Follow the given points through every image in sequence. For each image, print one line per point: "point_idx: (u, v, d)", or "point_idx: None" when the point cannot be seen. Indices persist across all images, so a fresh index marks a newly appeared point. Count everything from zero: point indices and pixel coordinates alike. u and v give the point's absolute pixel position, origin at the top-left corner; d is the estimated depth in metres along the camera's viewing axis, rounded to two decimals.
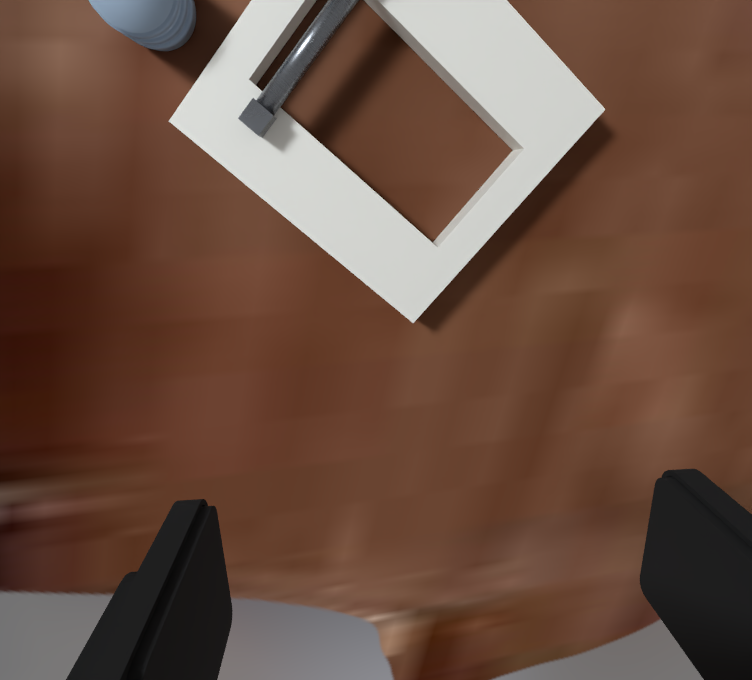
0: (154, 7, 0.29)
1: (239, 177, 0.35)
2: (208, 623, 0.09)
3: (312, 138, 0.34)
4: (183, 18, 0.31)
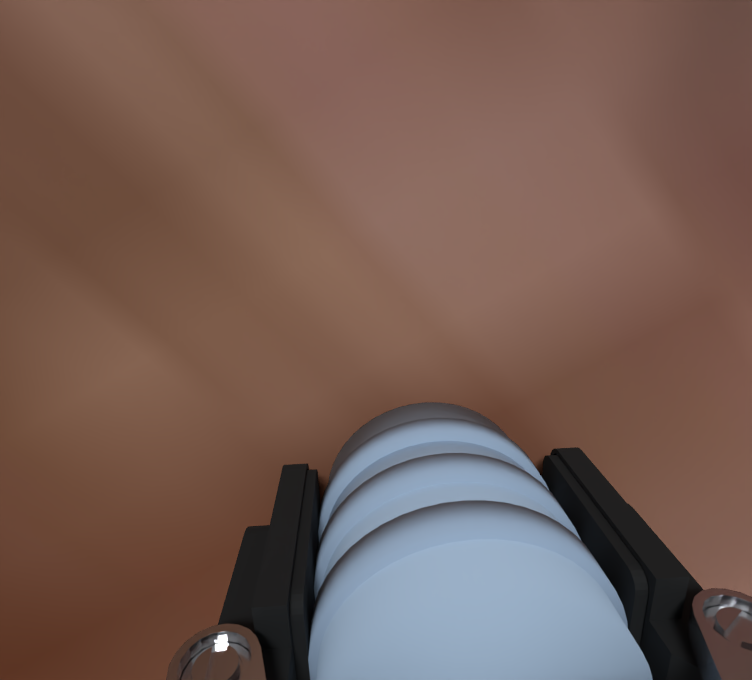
0: None
1: None
2: None
3: None
4: None
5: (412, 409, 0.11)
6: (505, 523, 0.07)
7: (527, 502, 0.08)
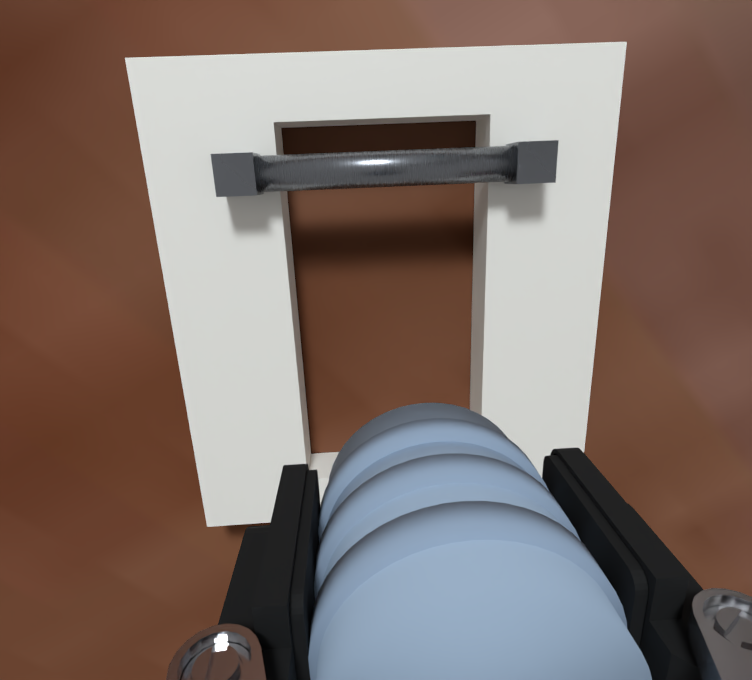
0: None
1: (153, 206, 0.21)
2: None
3: (283, 254, 0.22)
4: None
5: (412, 409, 0.11)
6: (505, 523, 0.07)
7: (526, 503, 0.08)
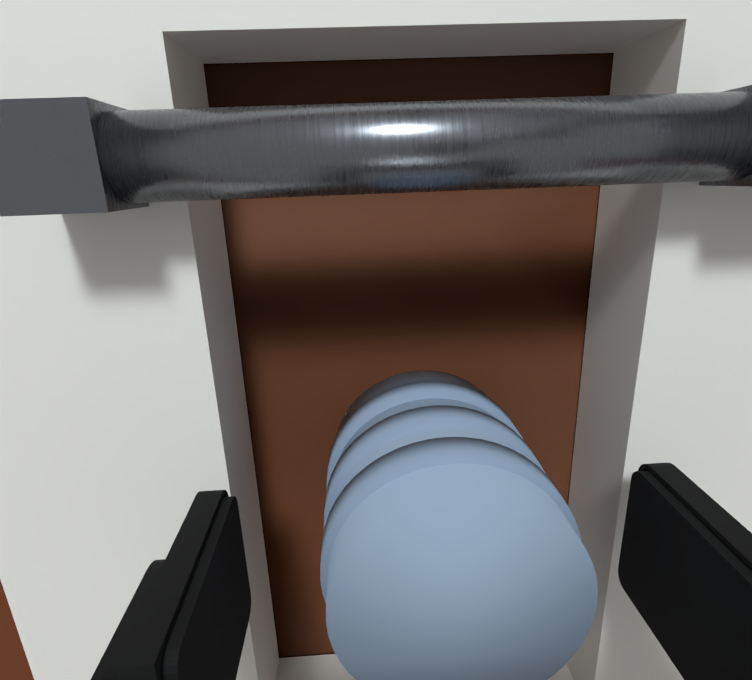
0: None
1: None
2: (231, 609, 0.09)
3: (201, 338, 0.10)
4: None
5: (408, 376, 0.13)
6: (479, 452, 0.09)
7: (501, 443, 0.10)
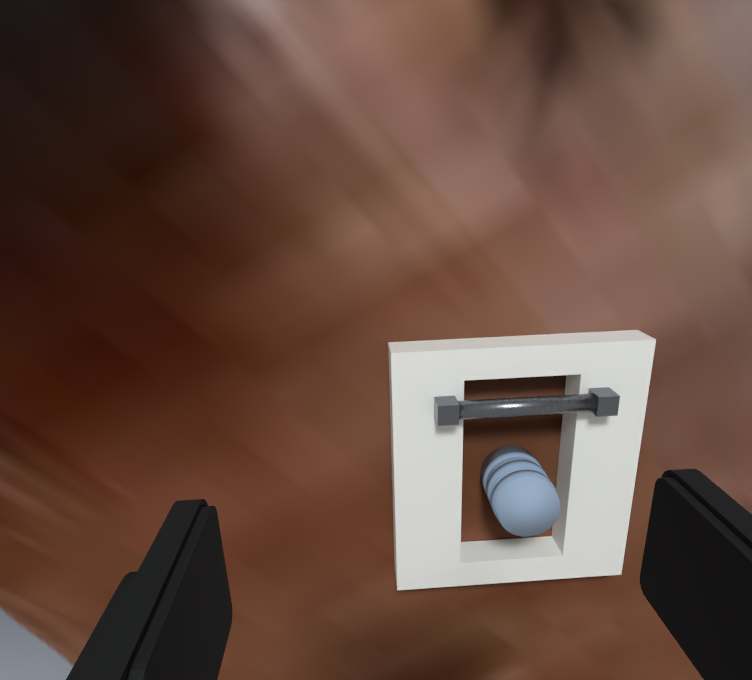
0: (527, 531, 0.39)
1: (394, 421, 0.38)
2: (208, 623, 0.09)
3: (461, 443, 0.39)
4: None
5: (506, 448, 0.42)
6: (532, 473, 0.38)
7: (536, 470, 0.39)
